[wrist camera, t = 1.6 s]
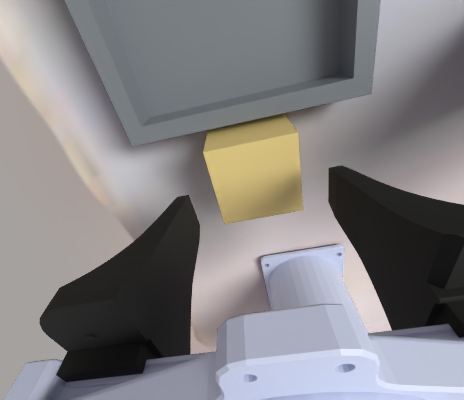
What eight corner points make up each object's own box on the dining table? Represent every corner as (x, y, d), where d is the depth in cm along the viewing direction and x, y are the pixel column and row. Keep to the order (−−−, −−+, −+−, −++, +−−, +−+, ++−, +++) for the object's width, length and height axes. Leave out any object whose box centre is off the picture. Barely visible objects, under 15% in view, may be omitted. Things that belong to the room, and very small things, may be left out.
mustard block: (287, 172, 19) (303, 210, 15) (225, 184, 20) (224, 224, 16) (280, 108, 17) (298, 132, 12) (209, 124, 17) (202, 152, 13)
